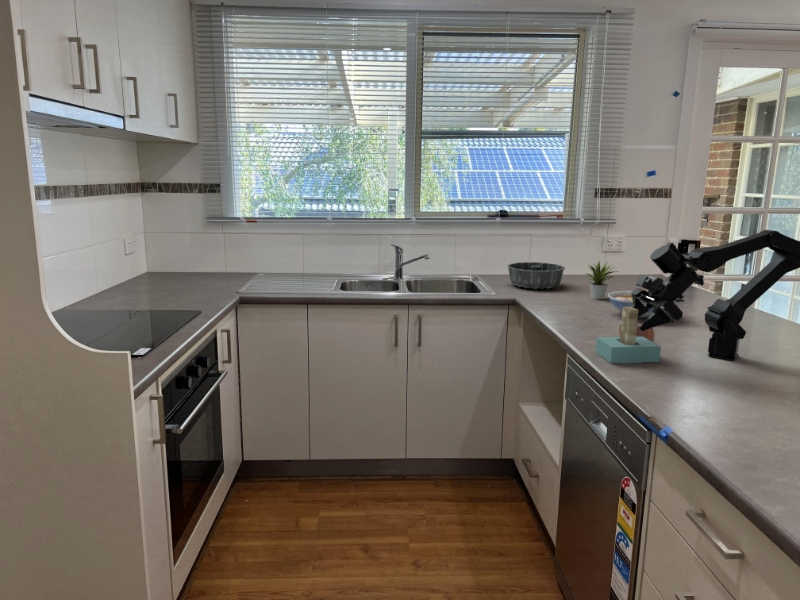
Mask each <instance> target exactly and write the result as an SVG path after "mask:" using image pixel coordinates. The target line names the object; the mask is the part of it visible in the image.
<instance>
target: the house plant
mask: <svg viewBox="0 0 800 600" xmlns="http://www.w3.org/2000/svg"><path fill="white" fill-rule="evenodd" d="M608 263H609V261H607V262H606V263H605V264H604V265H603V266H602V268H601V262H600V260H598V262H597V263H596V264H594V263H593V265H594V266H595V267H594V266H592V265H590V264H588V268H589V270H590V271H591V272H592V274H590V273H585V275H586V276H589V280H590V281H591V280H593V281H594V282H590V283H589V289H590V295H591V297H590V298H591V299H592V298H593V299H592V300H596V299H603V300H605V298H606V293H607V289H608V283H605V282H606V281H607V280H608V281H610V279H614V276H615V274H614V275H611V276H609V274H613V273H618V272H620V271H619V270H614V271H611V270H613V269H615V266H613V264H610V265H608ZM607 265H608V266H607ZM612 266H613V267H612Z"/></svg>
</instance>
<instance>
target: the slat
mask: <svg viewBox="0 0 800 600" xmlns="http://www.w3.org/2000/svg"><path fill="white" fill-rule="evenodd" d="M621 313H622V315H621V324H620V325H621V336H620V335H619V337H620V342H621V343H623V344H624V345H635V342H636V331H637V326H638V319H639V318H638V310H637V309H635V308H633V307H623V312H621Z"/></svg>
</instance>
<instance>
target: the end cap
mask: <svg viewBox="0 0 800 600" xmlns="http://www.w3.org/2000/svg"><path fill="white" fill-rule="evenodd" d="M661 350H662V346H661V345H659V344H657V343H656V342H654V341H653V342H652V341H650V340H648V339H646V338H645V337H636V342H635V345H624V344H623V343H621V342H620V336H608V337H607V336H604V337H603V336H599V337H598V336H597V337H596V342H595V353H596V354H597V353H598V354H599V355H598V354H597V355H598V356H600V355H601V356H602V357H603V358H602V357H601V356H600V357H601V358H602V359H604V358H605V359H606V360H605V359H604V360H605V361H607V362H608V361H609V362H610V364H642V362H648V364H650V363H649V362H651V364H652V362H658V363H660V360H661ZM609 362H608V363H609Z"/></svg>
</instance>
